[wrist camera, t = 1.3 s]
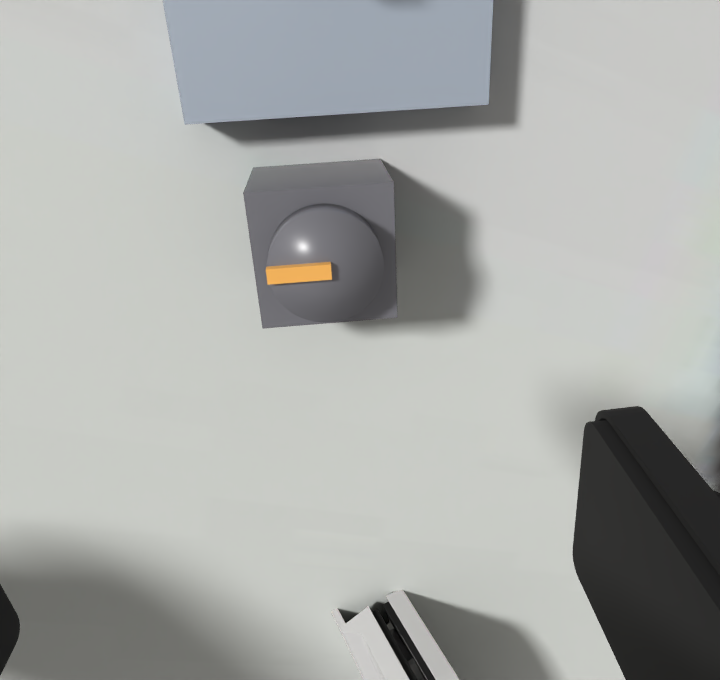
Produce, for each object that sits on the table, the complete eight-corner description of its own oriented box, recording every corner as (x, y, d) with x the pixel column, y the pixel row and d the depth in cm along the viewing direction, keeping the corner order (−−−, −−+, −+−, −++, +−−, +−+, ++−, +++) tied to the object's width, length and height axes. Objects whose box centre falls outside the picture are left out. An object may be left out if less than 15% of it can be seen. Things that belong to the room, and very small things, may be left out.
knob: (380, 158, 26) (399, 191, 21) (384, 277, 29) (402, 333, 24) (253, 167, 26) (239, 203, 21) (268, 286, 29) (260, 345, 23)
